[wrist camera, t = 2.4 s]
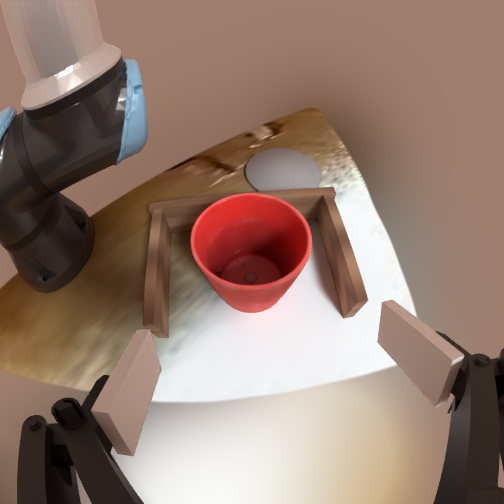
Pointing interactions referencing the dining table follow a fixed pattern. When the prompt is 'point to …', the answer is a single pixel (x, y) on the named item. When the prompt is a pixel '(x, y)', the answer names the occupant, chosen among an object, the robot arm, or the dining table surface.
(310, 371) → the dining table surface
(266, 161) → the slate mat
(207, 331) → the dining table surface
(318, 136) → the dining table surface
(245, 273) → the flower pot
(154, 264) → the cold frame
